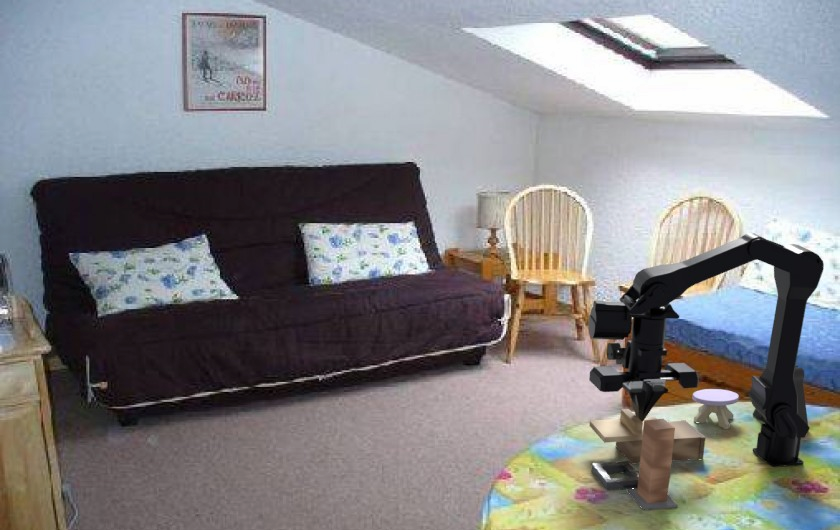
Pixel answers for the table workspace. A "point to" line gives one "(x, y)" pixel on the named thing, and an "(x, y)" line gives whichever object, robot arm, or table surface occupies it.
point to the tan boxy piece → (684, 444)
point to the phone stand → (800, 392)
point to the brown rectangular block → (655, 460)
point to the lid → (620, 427)
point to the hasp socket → (615, 467)
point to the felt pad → (645, 505)
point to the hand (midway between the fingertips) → (639, 420)
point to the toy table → (715, 405)
